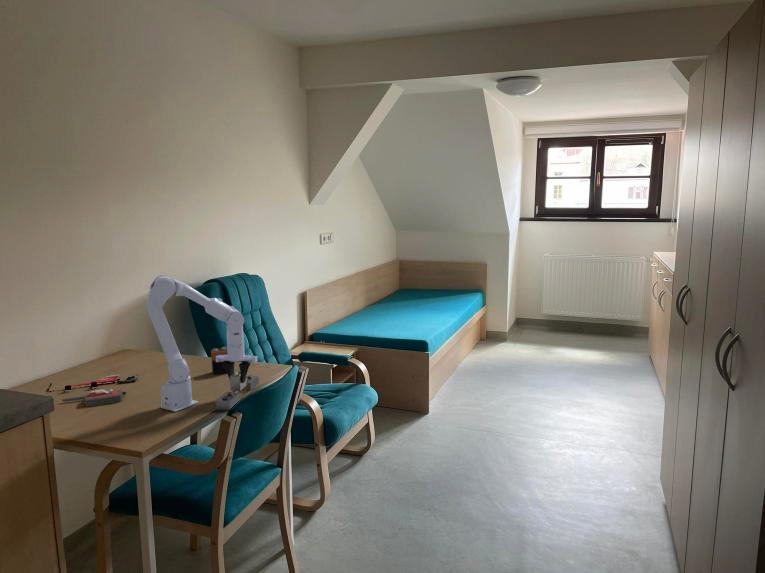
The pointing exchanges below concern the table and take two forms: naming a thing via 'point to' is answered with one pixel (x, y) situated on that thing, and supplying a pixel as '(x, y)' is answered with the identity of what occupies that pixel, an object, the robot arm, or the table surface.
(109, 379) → the red black toy gun
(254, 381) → the studded link strip
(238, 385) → the block with brass knobs
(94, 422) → the table surface
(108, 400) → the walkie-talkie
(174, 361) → the robot arm
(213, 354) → the battery
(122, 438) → the table surface
